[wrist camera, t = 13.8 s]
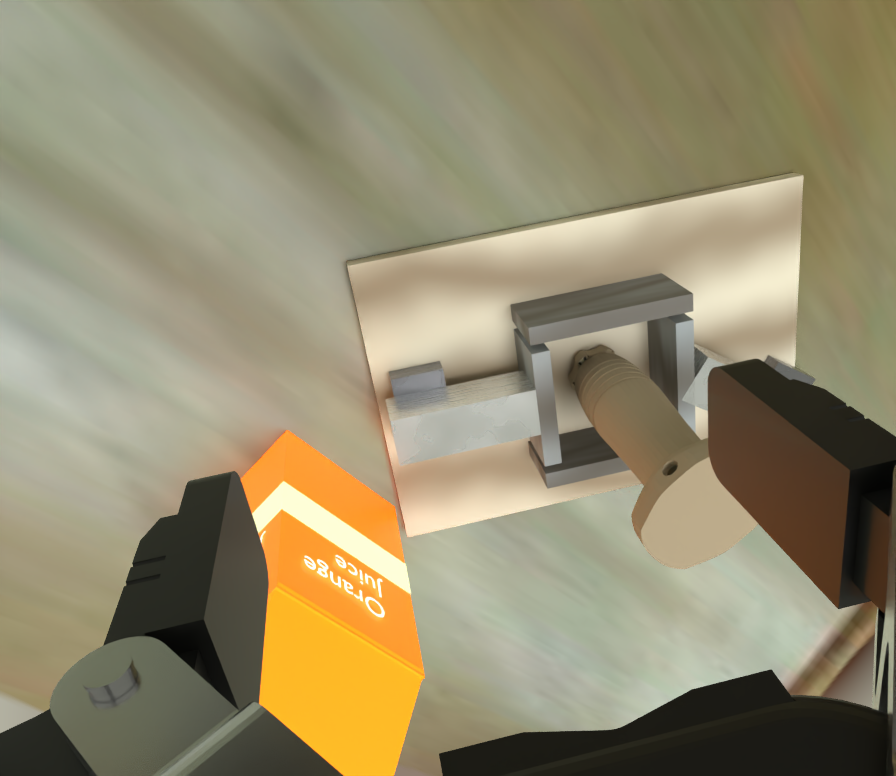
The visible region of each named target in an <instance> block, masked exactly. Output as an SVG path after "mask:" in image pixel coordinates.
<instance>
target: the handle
mask: <svg viewBox="0 0 896 776" xmlns="http://www.w3.org/2000/svg"><path fill="white" fill-rule="evenodd" d="M574 360H575V363H574V367H573V370H572V371H571V373H570V374H569V376H568V377H569V381H570V384H571V387H572V389H573V390H575V391H576V394H577V397H578V400H579V402H580V405H581V407H582V409H583V411H584V412H585V414H586V416H587V418H588V419H589V421H590V423H591V424H592V425H593V427H594V428H595V430H596V431H597V432H598V433H599V435H600V436H601V437H602V438H603V439H604V440H605V442H606V443H607V444H608V445H609V446H610V447H611V448H612V449H613V450H614V452H615V453H616V454H617V455H618V456H619V457H620V458H621V459H622V460H623V462H624V463H625V464H626V465H627V466H628V467H629V469H630V470H631V471H632V472H633V473H634V474H635V476H636V477H637V478H638V479H639V480H640V482H641V483H642V484H643V485H644V487H643V489H642V492H641V494H640V496H639V498H638V500H637V502H636V505H635V507H634V510H633V512H632V523H633V526H634V530H635V532H636V534H637V536H638V537H639V539H640V540H641V542H642V544H643V545H644V547H645V548H646V550H647V551H648V553H649V554H650V555H651V556H652V557H653V558H654V559H656V560H657V561H658V562H660V563H661V564H664V565H666V566H668V567H671V568H677V569H687V568H689V567H692V566H695V565H697V564H700V563H702V562H705V561H707V560H710V559H712V558H714V557H716V556H718V555H720V554H722V553H724V552H726V551H727V550H728V549H730V548H731V547H733V546H734V545H735V544H736V543H737V542H739V541H740V540H741V539H742V538H743V537H745V536H746V535H747V534H748V533H749V532H751V531H752V530H753V529H754V528H755V527H756V526H757V525H758V523H757V522H756V520H755V519H754V518H753V517H752V516H751V515H750V514H749V513H748V512H747V511H746V510H745V509H744V508H743V507H742V505H741V504H740V503H739V502H738V501H737V500H736V499H735V498H734V497H733V496H732V495H731V494H730V493H729V492H728V491H727V489H726V488H725V487H724V486H723V485H722V484H721V483H720V482H719V480H718V478H717V477H716V475H715V473H714V470H713V468H712V465H711V461H710V457H709V451H708V438H706V439H703V440H701V439H700V438H699V437H698V436H697V435H696V433H695V432H694V431H693V430H692V429H691V427H690V426H689V425H688V424H687V423H686V421H685V420H684V419H683V418H682V416H681V415H680V414H679V412H678V411H677V410H676V409H675V407H674V406H673V405H672V403H671V402H670V401H669V400H668V398H667V397H666V396H665V394H664V393H663V392H662V391H661V389H660V388H659V387H658V386H657V385H656V384H655V383H654V382H653V381H652V380H651V379H650V378H649V377H648V376H647V375H646V374H645V373H644V372H643V371H641V370H640V369H639V368H638V367H636V366H635V365H634V364H632V363H631V362H629V361H628V360H626V359H624V358H622V357H620V356H618V355H616V354H615V352H614V350H612V349H611V348H609V347H607V346H604V345H600V346H598V347H597V348H595V349H593V350H589V351H583V350H582V351H580V352H578V353H577V354H576V355H575V357H574Z"/></svg>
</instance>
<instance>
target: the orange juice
mask: <svg viewBox="0 0 896 776" xmlns="http://www.w3.org/2000/svg"><path fill="white" fill-rule="evenodd" d="M240 480H241V482H242V485H243V488H244V491H245V494H246V497H247V500H248V503H249V506H250V509H251V512H252V515H253V518H254V521H255V524H256V528H257V531H258V534H259V537H260V540H261V543H262V546H263V549H264V553H265V557H266V562H267V568H268V578H269V590H268V602H267V614H266V626H265V638H264V650H263V662H262V675H261V687H260V699H259V704H260V705H262V706H263V707H264V708H266V709H267V710H268V711H269V712H271V713H272V714H273V715H274V716H275V717H276V718H278V719H279V720H280V721H281V722H282V723H283V724H285V725H286V726H287V727H288V728H289V729H290V730H291V731H293V732H294V733H295V734H296V735H297V736H298V737H300V738H301V739H302V740H303V741H304V742H305V743H307V744H308V745H309V746H310V747H311V748H312V749H314V750H315V751H316V752H317V753H318V754H319V755H321V756H322V757H323V758H324V759H325V760H326V761H327V762H329V763H330V764H331V765H332V766H333V767H334V768H336V769H337V770H338V771H339V772H340V773H341V774H343V775H344V776H394V773H395V770H396V766H397V763H398V759H399V756H400V752H401V749H402V746H403V742H404V739H405V735H406V732H407V728H408V725H409V721H410V718H411V714H412V711H413V708H414V704H415V701H416V697H417V694H418V690H419V687H420V683H421V681H422V680H423V679H424V678H425V676H424V670H423V664H422V659H421V653H420V647H419V642H418V636H417V630H416V625H415V619H414V614H413V608H412V602H411V597H410V594H411V591H410V585H409V579H408V574H407V568H406V564H405V563H404V557H403V551H402V546H401V540H400V534H399V529H398V523H397V517H396V512H395V507H394V506H393V505H391V504H390V503H389V502H387V501H386V500H385V499H383V498H382V497H380V496H379V495H378V494H376V493H375V492H373V491H372V490H371V489H369V488H368V487H366V486H365V485H364V484H362V483H361V482H359V481H358V480H357V479H355V478H354V477H352V476H351V475H350V474H348V473H347V472H345V471H344V470H343V469H341V468H340V467H339V466H337V465H336V464H334V463H333V462H332V461H330V460H329V459H327V458H326V457H325V456H323V455H322V454H320V453H319V452H318V451H316V450H315V449H313V448H312V447H311V446H309V445H308V444H306V443H305V442H304V441H302V440H301V439H299V438H298V437H297V436H295V435H294V434H292V433H291V432H290V431H288V430H286V432H285V433H284V434H283V435H282V436H281V437H280V438H279V439H278V440H277V441H276V442H275V443H274V444H273V445H272V446H271V448H270V449H269V450H268V451H267V452H266V453H265V454H264V455H263V456H262V457H261V458H260V459H259V460H258V461H257V462H256V463H255V465H254V466H253V467H252V468H251V469H250V470H249V471H248V472H247V473H246V474H245V475H244V476H243V477H242V478H241V479H240Z"/></svg>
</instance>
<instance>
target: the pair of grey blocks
mask: <svg viewBox="0 0 896 776" xmlns="http://www.w3.org/2000/svg"><path fill="white" fill-rule="evenodd" d="M764 362H765V363H766V364H768V365H769V366H770V367H772V368H773V369H775V370H776V371H778V372H779V373H780V374H782V375H783V376H785V377H786V378H788V379H789V380H792V379H796V380H799V381H802V382H805V383H808V384H811V385H812V384H813V382H814V381H815V378H813V377H812V376H810V375H809V374H807V373H806V372H804V371H802V370H800V369H798V368H795V367H793V366H791V365H789V364H787V363H785V362H783V361H780V360H778V359H776V358H774V357H772V356H770V355H768V356H767V358H766V359H765V361H764ZM732 363H736V362H734V361H732V360H730V359H727V358H725V357H723V356H721V355H719V354H716V353H714V352H712V351H710V350H708V349H705V348H703V347H701V346H699V345H697V344H694V370H695V379H694V381H693V382H692V384H691V386H690V387H691V388H690V387H689V389H688V390H687V392H686V394H685V395H684V396H685V397H683V399H682V401H685V402H687V403H688V402H689V403H691V402H692V403H691V404H692V405H693V404H694V406H697V407H699V408H701V409H704V410H706V411H708V376H709V373H710V371H711V369H712V368H714V367H718V366H723V365H727V364H732ZM389 376H390V381H391V385H392V390H393V395H394V398H389V399H386V404H387V409H388V414H389V419H390V423H391V428H392V433H393V437H394V442H395V446H396V451H397V456H398V460H399V465H400V466H402V465H407V464H411V463H416V462H420V461H425V460H429V459H434V458H438V457H443V456H447V455H452V454H456V453H461V452H465V451H470V450H474V449H479V448H483V447H488V446H492V445H497V444H501V443H506V442H510V441H515V440H519V439H524V438H528V437H533V436H538V435H541V430H540V421H539V413H538V405H537V396H536V389H535V388H534V386H533V385H532V383H531V382H530V380H529V379H528V377H527V376H526V374H525V373H524V371H523V370H520V371H515V372H511V373H506V374H501V375H497V376H492V377H487V378H483V379H478V380H473V381H469V382H464V383H459V384H455V385H450V386H446V383H445V377H444V372H443V368H442V365H441V363H440V361H437V362H432V363H427V364H423V365H418V366H413V367H408V368H404V369H399V370H394V371H389ZM694 384H695V385H694ZM692 387H693V388H692ZM694 387H695V388H694ZM689 391H690V392H689ZM688 397H689V398H688ZM691 398H692V399H691ZM687 400H688V401H687ZM689 400H690V401H691V402H690V401H689Z"/></svg>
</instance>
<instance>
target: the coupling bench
mask: <svg viewBox="0 0 896 776" xmlns="http://www.w3.org/2000/svg"><path fill="white" fill-rule="evenodd" d="M802 194H803V175H800V174H796V173H789V174H784V175H779V176H774V177H769V178H764V179H759V180H754V181H749V182H744V183H739V184H734V185H729V186H724V187H719V188H714V189H709V190H703V191H698V192H693V193H688V194H683V195H678V196H673V197H668V198H663V199H658V200H653V201H648V202H643V203H638V204H633V205H628V206H623V207H618V208H613V209H608V210H603V211H598V212H593V213H588V214H583V215H578V216H573V217H568V218H562V219H557V220H552V221H547V222H542V223H537V224H532V225H527V226H522V227H517V228H512V229H507V230H502V231H497V232H492V233H487V234H482V235H477V236H472V237H467V238H462V239H457V240H452V241H447V242H442V243H437V244H432V245H427V246H421V247H416V248H411V249H406V250H401V251H396V252H391V253H386V254H381V255H376V256H371V257H366V258H361V259H356V260H351V261H347V267H348V272H349V276H350V281H351V285H352V290H353V294H354V299H355V303H356V308H357V312H358V317H359V321H360V326H361V330H362V335H363V339H364V344H365V348H366V353H367V357H368V362H369V366H370V371H371V375H372V380H373V384H374V389H375V393H376V398H377V402H378V407H379V412H380V416H381V421H382V425H383V430H384V434H385V439H386V443H387V448H388V452H389V457H390V461H391V466H392V470H393V475H394V479H395V484H396V488H397V493H398V497H399V502H400V506H401V511H402V515H403V520H404V524H405V529H406V533H407V537H412V536H416V535H420V534H425V533H429V532H434V531H438V530H442V529H447V528H451V527H455V526H460V525H464V524H468V523H473V522H477V521H481V520H486V519H490V518H495V517H499V516H503V515H508V514H512V513H516V512H521V511H525V510H529V509H534V508H538V507H542V506H547V505H551V504H556V503H560V502H564V501H569V500H573V499H577V498H582V497H586V496H590V495H595V494H599V493H603V492H608V491H612V490H617V489H621V488H625V487H630V486H634V485H638V484H642V483H641V482H640V480H639V479H638V478H637V477H636V476H635V474H634V473H633V472H632V471H631V470H630V469H629V467H628V466H627V465H626V464H625V463H624V462H623V460H622V459H621V458H620V457H619V456H618V455H617V454H616V453H615V452H614V450H613V449H612V448H611V447H610V446H609V445H608V444H607V443H606V442H605V440H604V439H603V438H602V437H601V436H600V435H599V433H598V432H597V431H596V430H595V428H594V427H593V425H592V424H591V423H590V421H589V419H588V418H587V416H586V414H585V412H584V411H583V409H582V407H581V405H580V402H579V400H578V397H577V394H576V391H575V390H573V389H572V387H571V384H570V381H569V377H568V376H569V374H570V373H571V371H572V370H573V367H574V363H575V360H574V357H575V355H576V354H577V353H578V352H580V351H582V350H583V351H589V350H593V349H595V348H597V347H598V346H600V345H604V346H607V347H609V348H611V349H612V350H614V352H615V354H616V355H618V356H620V357H622V358H624V359H626V360H628V361H629V362H631V363H632V364H634V365H635V366H636V367H638V368H639V369H640V370H641V371H643V372H644V373H645V374H646V375H647V376H648V377H649V378H650V379H651V380H652V381H653V382H654V383H655V384H656V385H657V386H658V387H659V388H660V389H661V391H662V392H663V393H664V394H665V396H666V397H667V398H668V400H669V401H670V402H671V403H672V405H673V406H674V407H675V409H676V410H677V411H678V412H679V414H680V415H681V416H682V418H683V419H684V420H685V421H686V423H687V424H688V425H689V426H690V427H691V429H692V430H693V431H694V432H695V433H696V435H697V436H698V437H699V438H700V439H701V440H703V439H706V438H708V411H706V410H704V409H701V408H699V407H697V406H694V404H693V405H692V404H691V403H692V402H691V401H690V400H689V401H690V402H691V403H689V402H688V403H687V402H685V401H682V399H683V397H685V396H684V395H685V394H686V392H687V390H688V389H689V387H690V386H691V384H692V382H693V381H694V379H695V370H694V344H697V345H699V346H701V347H703V348H705V349H708V350H710V351H712V352H714V353H716V354H719V355H721V356H723V357H725V358H727V359H730V360H732V361H734V362H741V361H746V360H750V359H756V358H757V359H760V360H762V361H763V362H764V361H765V359H766V358H767V356H768V355H770V356H772V357H774V358H776V359H778V360H780V361H783V362H785V363H787V364H789V365H791V366H793V367H795V350H796V328H797V305H798V283H799V261H800V238H801V216H802ZM437 361H440V363H441V365H442V368H443V372H444V377H445V383H446V386H450V385H455V384H459V383H464V382H469V381H473V380H478V379H483V378H487V377H492V376H497V375H501V374H506V373H511V372H515V371H520V370H523V371H524V373H525V374H526V376H527V377H528V379H529V380H530V382H531V383H532V385H533V386H534V388H535V389H536V396H537V405H538V413H539V421H540V430H541V435H538V436H533V437H528V438H524V439H519V440H515V441H510V442H506V443H501V444H497V445H492V446H488V447H483V448H479V449H474V450H470V451H465V452H461V453H456V454H452V455H447V456H443V457H438V458H434V459H429V460H425V461H420V462H416V463H411V464H407V465H402V466H400V465H399V460H398V456H397V451H396V446H395V442H394V437H393V433H392V428H391V423H390V419H389V414H388V409H387V404H386V399H389V398H394V395H393V390H392V385H391V381H390V376H389V371H394V370H399V369H404V368H408V367H413V366H418V365H423V364H427V363H432V362H437ZM694 385H695V384H694ZM690 388H691V387H690ZM692 388H693V387H692ZM694 388H695V387H694ZM689 392H690V391H689ZM688 398H689V397H688ZM691 399H692V398H691ZM687 401H688V400H687Z"/></svg>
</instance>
